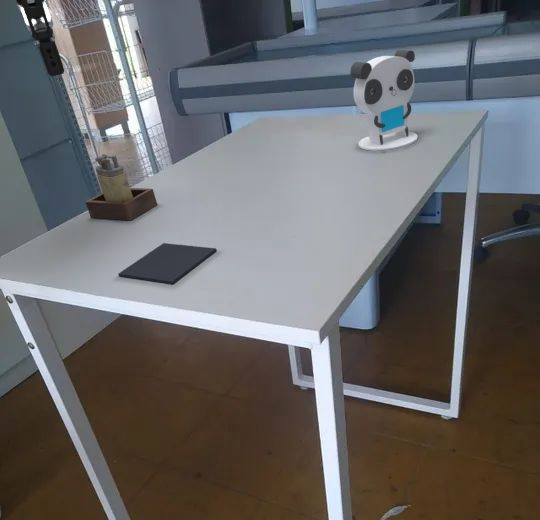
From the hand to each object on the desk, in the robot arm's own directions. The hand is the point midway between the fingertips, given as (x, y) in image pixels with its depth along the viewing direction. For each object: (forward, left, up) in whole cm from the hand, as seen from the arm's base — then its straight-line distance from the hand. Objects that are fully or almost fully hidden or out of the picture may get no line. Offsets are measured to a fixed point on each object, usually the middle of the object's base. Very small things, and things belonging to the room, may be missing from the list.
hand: (57, 72), depth 79 cm
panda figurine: (+46, -31, -24) cm, 61 cm away
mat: (-9, -20, -24) cm, 33 cm away
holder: (+7, +4, -24) cm, 25 cm away
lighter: (+7, +4, -24) cm, 25 cm away
